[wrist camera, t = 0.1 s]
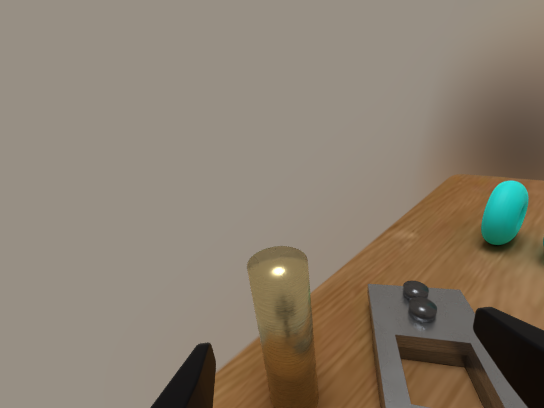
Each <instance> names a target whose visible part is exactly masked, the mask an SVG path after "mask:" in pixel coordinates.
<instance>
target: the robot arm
mask: <svg viewBox="0 0 544 408" xmlns="http://www.w3.org/2000/svg"><path fill="white" fill-rule="evenodd" d="M473 330H474V333H475V335H476V336H477V338H478V339H479V341H480V342H481V344H482V345H483V347H484V348H485V350H486V351H487V353H488V354H489V356H490V357H491V359H492V360H493V361H494V363H495V364H496V366H497V367H498V369H499V370H500V372H501V373H502V375H503V376H504V378H505V379H506V380H507V382H508V383H509V384H510V386H511V387H512V388H513V390H514V391H515V392H516V394H517V395H518V396H519V397H520V399H521V400H522V401H523V402H524V404H525V405H526V406H527V407H528V408H544V330H541V329H539V328H537V327H535V326H533V325H530V324H528V323H526V322H524V321H521V320H519V319H517V318H515V317H513V316H510V315H508V314H506V313H504V312H502V311H499V310H497V309H495V308H493V307H483V308H478V309H477V310H476V313H475V318H474V322H473ZM215 371H216V361H215V357H214V353H213V349H212V346H211V344H210V343H201V344H198V345H197V346H196V347H195V348H194V350H193V351H192V353H191V354H190V355H189V357H188V358H187V359H186V361H185V362H184V363H183V365H182V366H181V367H180V369H179V370H178V371H177V373H176V374H175V376H174V377H173V378H172V380H171V381H170V382H169V384H168V385H167V386H166V388H165V389H164V390H163V392H162V393H161V394H160V396H159V397H158V398H157V400H156V401H155V402H154V404H153V405H152V406H151V408H213V396H214V383H215Z"/></svg>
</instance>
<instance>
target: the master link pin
mask: <svg viewBox="0 0 544 408" xmlns="http://www.w3.org/2000/svg"><path fill="white" fill-rule="evenodd" d="M247 269H248V274H249V280H250V286H251V291H252V297H253V302H254V308H255V313H256V319H257V324H258V330H259V336H260V341H261V347H262V352H263V358H264V363H265V369H266V374H267V380H268V385H269V391H270V396H271V402H272V405H273V408H316V407H317V404H318V386H317V373H316V360H315V348H314V335H313V322H312V310H311V297H310V286H309V285H310V284H309V273H308V260H307V257H306V255H305V254H304V253H303V252H302V251H300V250H298V249H296V248H293V247H287V246H278V247H271V248H267V249H264V250H262V251H259V252H258V253H256V254H255V255H253V256H252V257H251V258H250V260H249V261H248V264H247Z"/></svg>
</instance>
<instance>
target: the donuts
mask: <svg viewBox="0 0 544 408" xmlns="http://www.w3.org/2000/svg"><path fill="white" fill-rule="evenodd" d="M527 207H528V193H527V190H526V188H525V187H524V186H523V185H522V184H521V183H519V182H516V181H505V182H502V183H500V184H499V185H498V186H497V187H496V188H495V189H494V190H493V192H492V194H491V196H490V198H489V200H488V202H487V205H486V208H485V211H484V214H483V219H482V226H481V232H482V236H483V238H484V239H485V240H486V241H487V242H488V243H490V244H493V245H502V244H505V243H508V242H509V241H511V240H512V239H513V238H514V237H515V236H516V235H517V233H518V232H519V230H520V228H521V226H522V223H523V220H524V218H525V214H526V211H527ZM543 245H544V239H543Z"/></svg>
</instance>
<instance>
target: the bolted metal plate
mask: <svg viewBox="0 0 544 408" xmlns="http://www.w3.org/2000/svg"><path fill="white" fill-rule="evenodd" d="M368 300H369V308H370V315H371V322H372V330H373V351H374V359H375V367H376V375H377V382H378V390H379V398H380V406H381V408H429V407H423V406H418V405H412V404H411V403H410V398H409V394H408V390H407V385H406V381H405V376H404V372H403V368H402V363H401V359H400V358H402V359H409V360H416V361H424V362H431V363H438V364H446V365H453V366H460V367H465V368H466V370H467V372H468V374H469V376H470V378H471V381H472V383H473V385H474V387H475V389H476V391H477V394H478V396H479V398H480V400H481V402H482V404H483V407H484V408H528V407H527V406H526V405H525V404H524V402H523V401H522V400H521V399H520V397H519V396H518V395H517V394H516V392H515V391H514V390H513V388H512V387H511V386H510V384H509V383H508V382H507V380H506V379H505V378H504V376H503V375H502V373H501V372H500V370H499V369H498V367H497V366H496V364H495V363H494V361H493V360H492V359H491V357H490V356H489V354H488V353H487V351H486V350H485V348H484V347H483V345H482V344H481V342H480V341H479V339H478V338H477V336H476V335H475V333H474V330H473V322H474V318H475V313H474V311H473V310H472V308H471V307H470V305H469V303H468V302H467V300H466V299H465V297H464V295H463V294H462V292H461V291H460V290H454V289H438V288H428V287H427V286H426V285H424V284H423V283H421V282H418V281H407V282H405V283H404V285H403V286H392V285H377V284H368Z"/></svg>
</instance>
